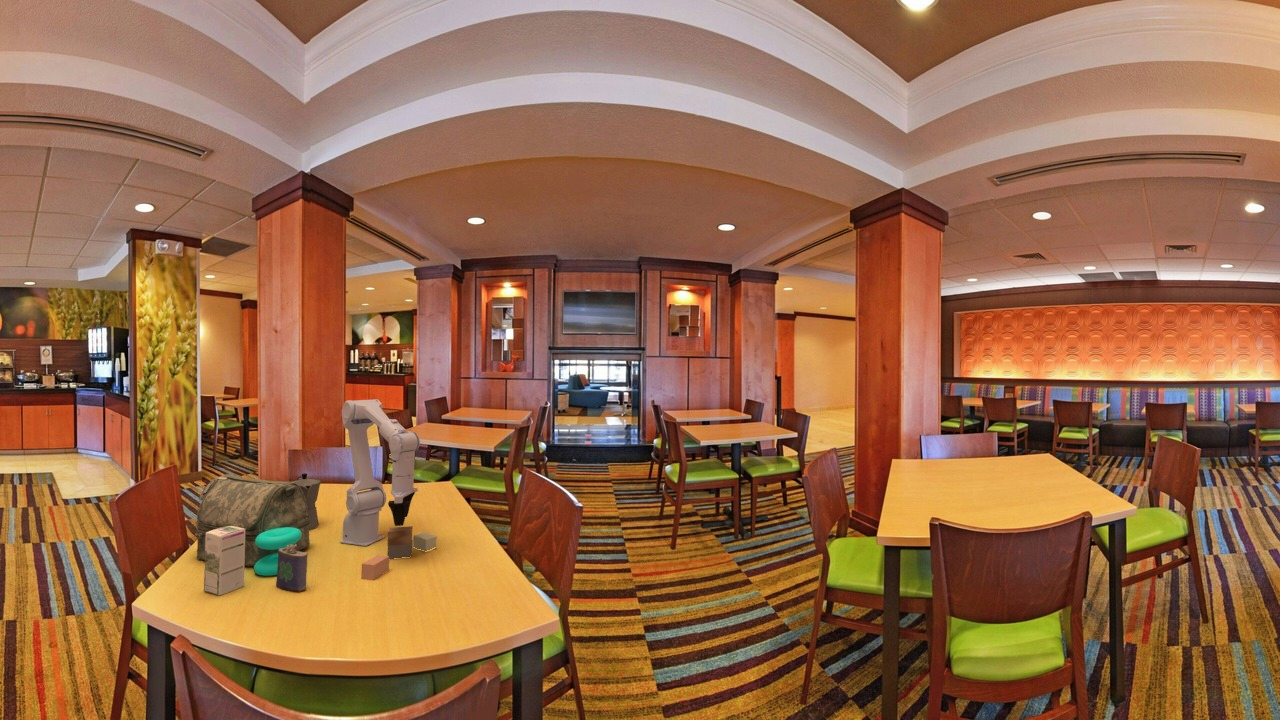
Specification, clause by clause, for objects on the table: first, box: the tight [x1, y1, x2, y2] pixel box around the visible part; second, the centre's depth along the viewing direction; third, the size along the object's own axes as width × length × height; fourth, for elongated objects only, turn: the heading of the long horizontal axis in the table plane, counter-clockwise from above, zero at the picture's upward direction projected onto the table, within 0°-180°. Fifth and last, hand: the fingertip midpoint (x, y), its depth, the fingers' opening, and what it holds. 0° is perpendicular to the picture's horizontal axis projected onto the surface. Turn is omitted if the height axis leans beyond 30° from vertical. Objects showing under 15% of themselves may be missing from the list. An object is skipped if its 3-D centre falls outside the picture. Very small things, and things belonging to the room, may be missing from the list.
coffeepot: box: [291, 473, 322, 531], centre depth 161 cm, size 15×9×18 cm, turn 44°
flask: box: [275, 544, 308, 593], centre depth 120 cm, size 9×3×11 cm, turn 68°
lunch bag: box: [194, 473, 311, 567], centre depth 139 cm, size 26×18×22 cm
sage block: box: [412, 531, 437, 551], centre depth 147 cm, size 6×4×4 cm, turn 60°
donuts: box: [253, 527, 302, 577], centre depth 129 cm, size 10×10×10 cm
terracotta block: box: [360, 554, 390, 581], centre depth 129 cm, size 6×4×4 cm, turn 172°
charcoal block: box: [386, 540, 413, 560], centre depth 141 cm, size 6×4×4 cm, turn 108°
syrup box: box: [203, 526, 246, 596], centre depth 118 cm, size 6×6×14 cm
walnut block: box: [386, 525, 414, 547], centre depth 141 cm, size 6×4×4 cm, turn 109°
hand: (401, 521), depth 141 cm, fingers open, 7 cm apart
